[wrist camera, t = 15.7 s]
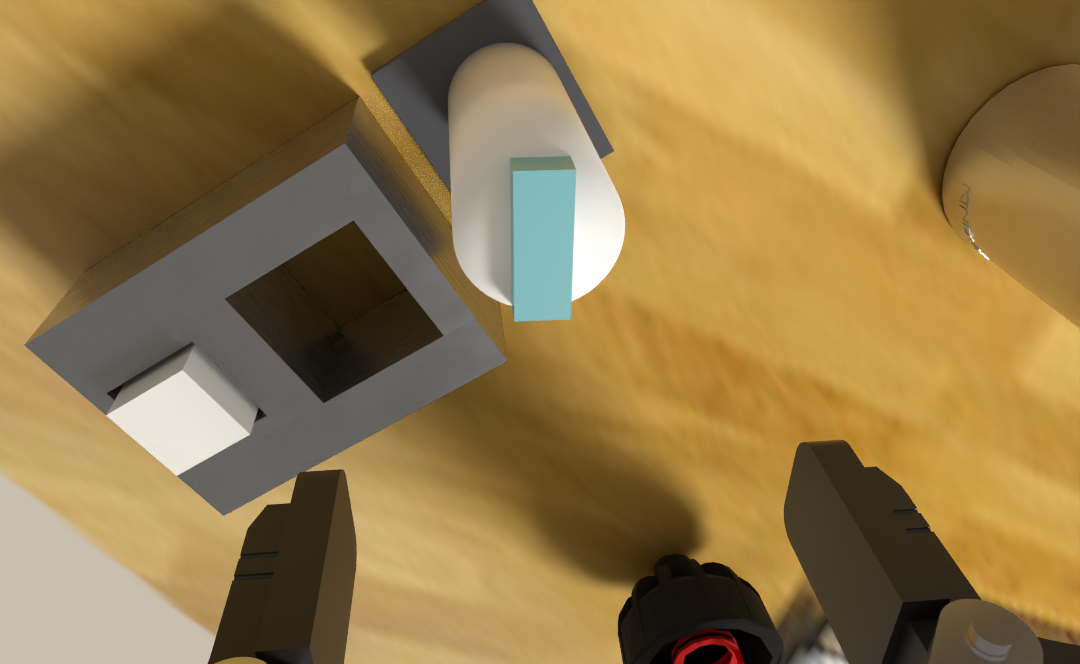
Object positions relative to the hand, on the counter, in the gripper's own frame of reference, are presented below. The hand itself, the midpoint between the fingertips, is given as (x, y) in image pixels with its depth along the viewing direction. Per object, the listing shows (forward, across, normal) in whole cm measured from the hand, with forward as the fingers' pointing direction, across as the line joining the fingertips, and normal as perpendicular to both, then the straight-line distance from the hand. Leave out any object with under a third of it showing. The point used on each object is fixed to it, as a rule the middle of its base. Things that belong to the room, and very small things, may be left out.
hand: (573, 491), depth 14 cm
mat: (+23, 0, 0) cm, 23 cm away
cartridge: (+23, 0, -1) cm, 23 cm away
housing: (+23, +10, +8) cm, 26 cm away
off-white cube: (+21, +13, +10) cm, 27 cm away
